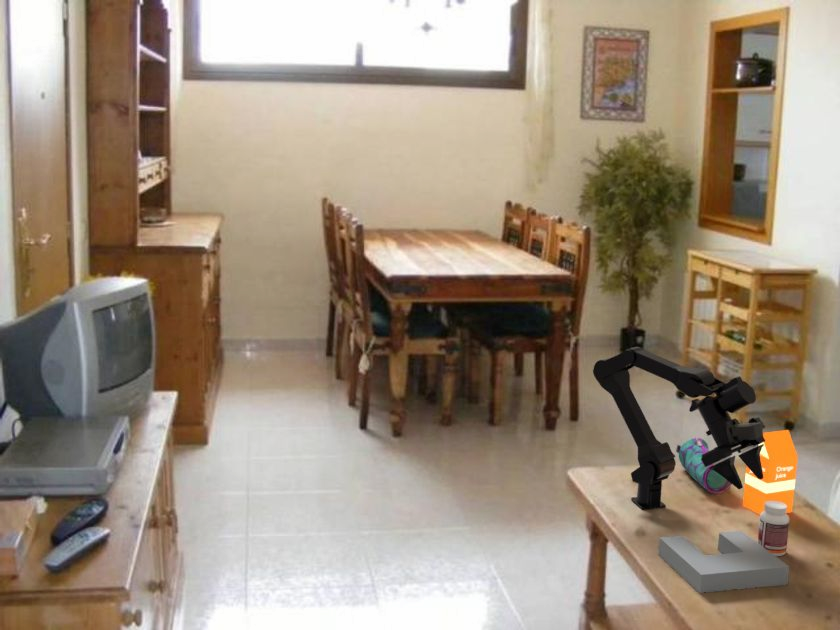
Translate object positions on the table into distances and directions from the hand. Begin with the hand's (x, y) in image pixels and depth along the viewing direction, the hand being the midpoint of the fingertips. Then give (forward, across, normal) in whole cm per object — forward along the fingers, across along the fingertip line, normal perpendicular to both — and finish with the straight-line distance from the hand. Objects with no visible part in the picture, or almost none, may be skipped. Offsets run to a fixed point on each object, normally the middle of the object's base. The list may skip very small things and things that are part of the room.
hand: (751, 483), depth 223 cm
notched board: (+13, -18, +5) cm, 23 cm away
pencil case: (-5, +25, +29) cm, 39 cm away
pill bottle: (+15, -2, +3) cm, 15 cm away
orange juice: (+7, +20, +13) cm, 25 cm away
